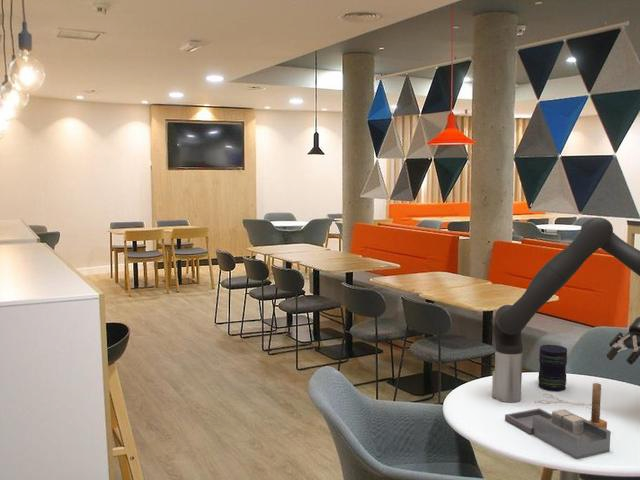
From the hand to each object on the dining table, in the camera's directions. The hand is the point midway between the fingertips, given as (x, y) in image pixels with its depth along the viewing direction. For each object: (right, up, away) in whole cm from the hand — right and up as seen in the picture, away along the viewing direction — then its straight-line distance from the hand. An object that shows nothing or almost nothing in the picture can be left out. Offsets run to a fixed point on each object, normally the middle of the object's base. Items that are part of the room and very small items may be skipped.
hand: (618, 360), depth 201 cm
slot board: (-21, -22, -14) cm, 34 cm away
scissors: (-10, -19, +18) cm, 28 cm away
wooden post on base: (-10, -21, -6) cm, 24 cm away
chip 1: (-23, -18, -11) cm, 31 cm away
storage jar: (-9, -17, +34) cm, 39 cm away
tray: (-27, -20, 0) cm, 34 cm away
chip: (-21, -18, -15) cm, 32 cm away
